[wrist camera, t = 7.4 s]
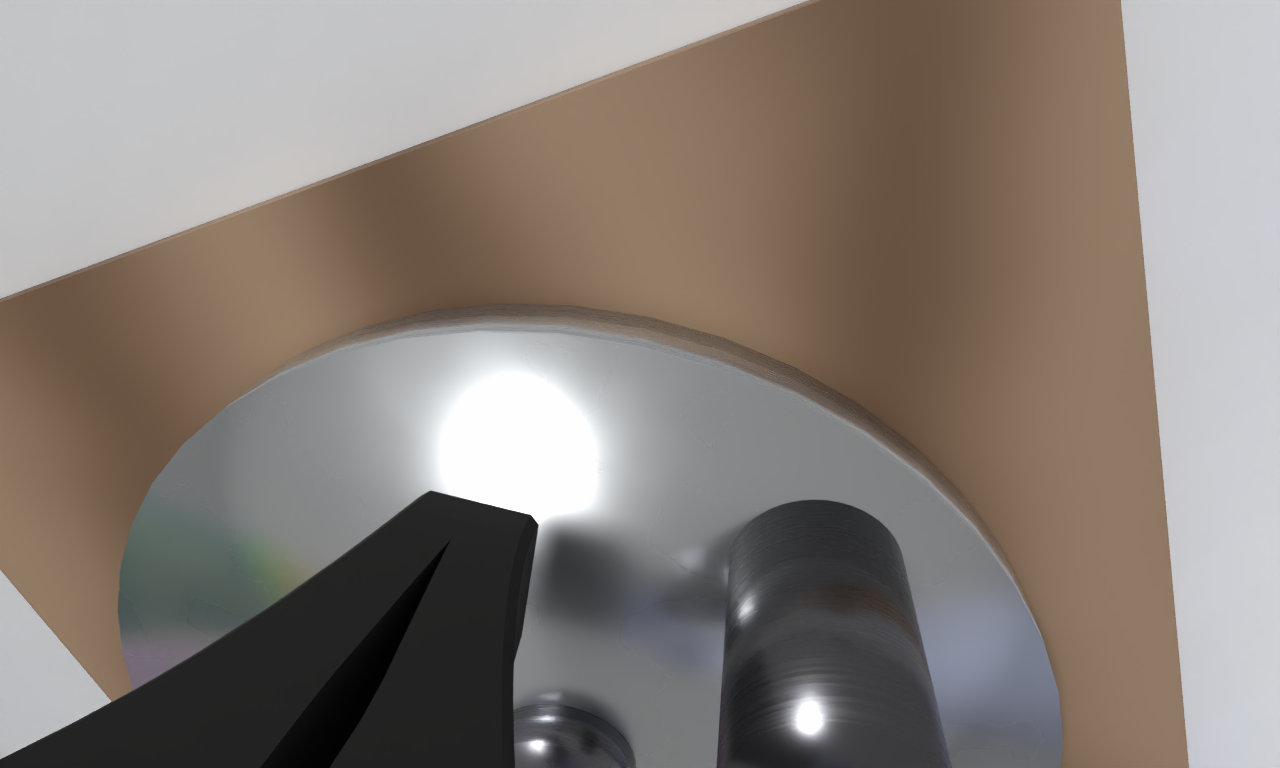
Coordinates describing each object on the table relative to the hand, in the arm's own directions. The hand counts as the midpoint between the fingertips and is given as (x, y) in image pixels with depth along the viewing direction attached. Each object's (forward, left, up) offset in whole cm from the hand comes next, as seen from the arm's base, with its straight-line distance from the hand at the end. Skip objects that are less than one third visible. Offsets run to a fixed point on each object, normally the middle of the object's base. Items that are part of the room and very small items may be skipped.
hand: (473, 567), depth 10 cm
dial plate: (+2, +5, -4) cm, 7 cm away
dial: (+2, +6, -3) cm, 7 cm away
